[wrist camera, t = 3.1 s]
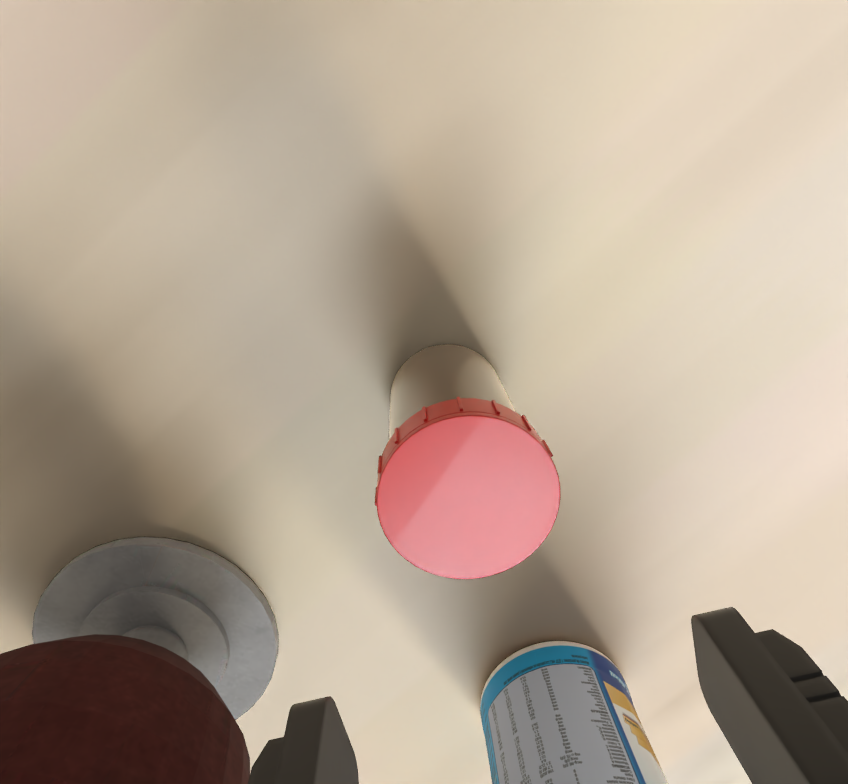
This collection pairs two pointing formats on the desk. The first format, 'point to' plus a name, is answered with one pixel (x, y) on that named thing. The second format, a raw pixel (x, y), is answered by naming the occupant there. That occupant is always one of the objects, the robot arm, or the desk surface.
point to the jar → (442, 381)
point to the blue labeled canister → (564, 720)
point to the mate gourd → (137, 670)
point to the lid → (466, 489)
